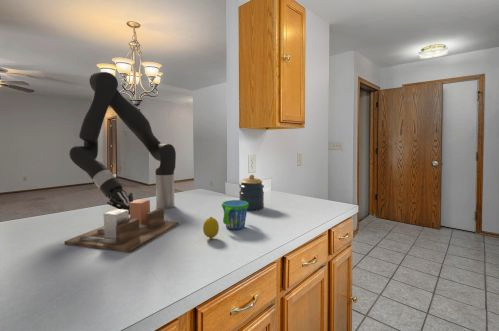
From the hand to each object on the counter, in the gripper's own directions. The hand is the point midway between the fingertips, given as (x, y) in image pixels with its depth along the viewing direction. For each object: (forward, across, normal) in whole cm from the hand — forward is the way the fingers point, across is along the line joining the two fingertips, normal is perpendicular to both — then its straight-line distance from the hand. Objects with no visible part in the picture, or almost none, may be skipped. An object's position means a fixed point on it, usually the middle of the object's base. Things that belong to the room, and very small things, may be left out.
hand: (133, 214), depth 111 cm
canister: (+31, +42, -24) cm, 57 cm away
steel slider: (+6, -16, -2) cm, 17 cm away
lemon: (+29, -5, -22) cm, 37 cm away
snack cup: (+32, +10, -25) cm, 42 cm away
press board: (+6, -8, +1) cm, 10 cm away
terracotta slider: (+5, 0, 0) cm, 5 cm away
